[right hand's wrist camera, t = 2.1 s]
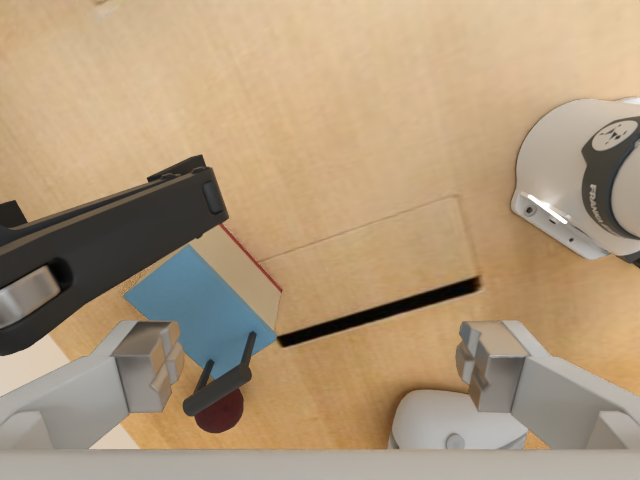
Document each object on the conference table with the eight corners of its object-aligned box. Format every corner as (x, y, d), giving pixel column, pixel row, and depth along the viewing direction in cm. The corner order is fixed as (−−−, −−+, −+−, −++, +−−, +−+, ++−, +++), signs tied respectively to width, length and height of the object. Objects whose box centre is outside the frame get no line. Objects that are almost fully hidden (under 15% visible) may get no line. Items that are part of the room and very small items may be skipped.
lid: (277, 334, 44) (267, 388, 36) (217, 373, 46) (195, 432, 38) (188, 243, 40) (154, 281, 31) (127, 291, 42) (80, 338, 34)
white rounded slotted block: (429, 480, 68) (456, 575, 55) (353, 413, 62) (362, 502, 48) (533, 423, 63) (592, 513, 49) (461, 343, 57) (505, 421, 43)
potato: (194, 393, 60) (179, 429, 54) (221, 365, 58) (208, 399, 52) (230, 414, 62) (219, 451, 56) (257, 388, 60) (249, 423, 53)
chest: (282, 290, 53) (274, 331, 44) (232, 324, 55) (214, 370, 46) (214, 215, 49) (189, 243, 40) (162, 255, 51) (127, 291, 42)
